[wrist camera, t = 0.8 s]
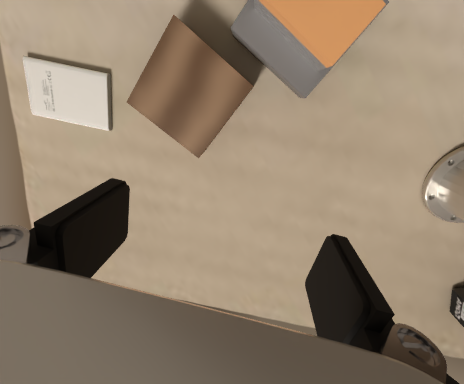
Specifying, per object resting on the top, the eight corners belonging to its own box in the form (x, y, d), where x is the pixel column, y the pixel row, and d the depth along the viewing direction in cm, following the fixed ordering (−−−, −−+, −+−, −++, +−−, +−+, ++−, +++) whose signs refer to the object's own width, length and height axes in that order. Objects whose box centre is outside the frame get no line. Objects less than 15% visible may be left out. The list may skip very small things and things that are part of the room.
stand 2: (371, 14, 28) (389, 2, 24) (299, 97, 32) (305, 98, 28) (300, -66, 25) (307, -92, 22) (233, 35, 30) (230, 27, 26)
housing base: (359, 22, 25) (375, 11, 22) (318, 71, 27) (326, 68, 24) (292, -50, 23) (299, -74, 20) (254, 8, 25) (254, -4, 22)
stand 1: (253, 86, 32) (253, 86, 28) (204, 151, 36) (198, 158, 33) (183, 24, 30) (173, 14, 26) (140, 101, 34) (126, 102, 30)
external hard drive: (114, 129, 37) (39, 114, 37) (113, 74, 34) (31, 56, 34) (108, 131, 35) (30, 114, 35) (106, 73, 32) (20, 55, 32)
